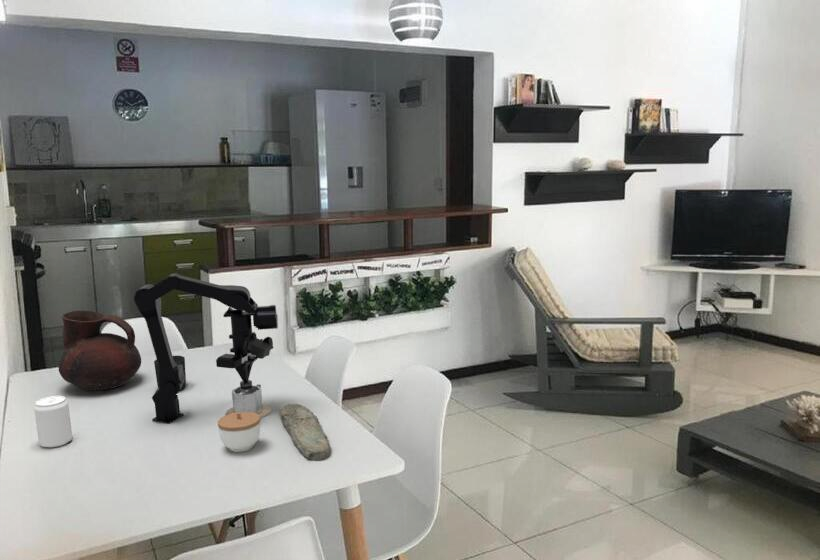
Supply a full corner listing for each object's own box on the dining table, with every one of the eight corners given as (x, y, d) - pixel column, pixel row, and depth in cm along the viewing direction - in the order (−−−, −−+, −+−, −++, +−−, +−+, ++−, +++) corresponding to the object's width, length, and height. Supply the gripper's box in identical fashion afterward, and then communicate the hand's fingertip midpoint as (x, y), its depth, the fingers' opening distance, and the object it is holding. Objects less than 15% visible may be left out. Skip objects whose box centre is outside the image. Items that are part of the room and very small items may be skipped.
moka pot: (254, 423, 194) (252, 399, 192) (216, 418, 198) (214, 395, 197) (279, 406, 206) (277, 384, 204) (242, 402, 210) (240, 380, 209)
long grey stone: (299, 470, 168) (338, 464, 172) (299, 450, 167) (339, 445, 171) (273, 413, 200) (306, 410, 203) (273, 396, 199) (307, 393, 202)
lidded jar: (218, 442, 182) (215, 409, 180) (258, 435, 185) (256, 403, 184) (222, 459, 172) (219, 423, 170) (265, 451, 176) (262, 417, 174)
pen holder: (162, 384, 228) (159, 356, 227) (190, 383, 229) (188, 355, 227) (153, 394, 219) (150, 364, 217) (182, 393, 220) (179, 363, 218)
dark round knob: (249, 404, 198) (248, 385, 197) (234, 402, 200) (232, 384, 199) (260, 398, 203) (258, 379, 202) (244, 396, 205) (243, 378, 204)
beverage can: (35, 450, 180) (29, 407, 177) (43, 438, 187) (37, 397, 185) (69, 446, 182) (64, 403, 179) (75, 434, 189) (70, 393, 187)
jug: (117, 400, 215) (108, 323, 210) (44, 397, 219) (34, 322, 214) (157, 374, 239) (150, 304, 235) (92, 372, 243) (84, 304, 239)
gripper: (247, 341, 186) (251, 395, 189) (283, 324, 203) (286, 374, 206) (212, 338, 190) (217, 391, 193) (251, 321, 207) (254, 371, 210)
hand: (245, 381), depth 200 cm, fingers closed, pressing on dark round knob
